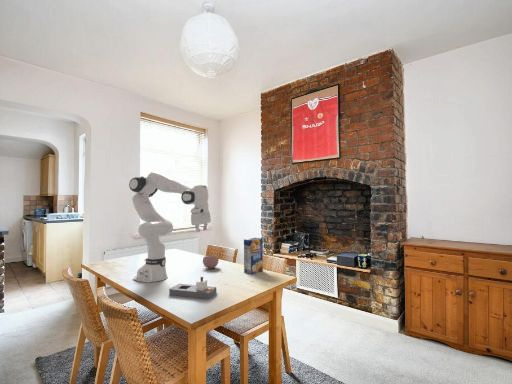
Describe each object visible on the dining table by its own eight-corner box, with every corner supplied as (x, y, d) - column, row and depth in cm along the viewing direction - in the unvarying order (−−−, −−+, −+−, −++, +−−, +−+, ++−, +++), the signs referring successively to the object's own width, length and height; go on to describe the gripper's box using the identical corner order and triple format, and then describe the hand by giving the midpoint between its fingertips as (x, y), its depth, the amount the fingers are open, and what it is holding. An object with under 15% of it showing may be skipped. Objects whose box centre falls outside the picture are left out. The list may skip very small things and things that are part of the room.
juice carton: (255, 269, 208) (255, 237, 209) (262, 271, 203) (262, 238, 203) (244, 272, 200) (243, 239, 200) (251, 274, 194) (250, 240, 195)
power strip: (169, 296, 153) (169, 288, 153) (179, 290, 162) (179, 282, 162) (208, 300, 146) (208, 291, 146) (216, 294, 156) (216, 286, 156)
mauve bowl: (219, 266, 218) (219, 251, 218) (217, 270, 206) (217, 255, 206) (204, 266, 219) (204, 251, 219) (201, 270, 207) (201, 255, 207)
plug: (196, 296, 151) (196, 278, 151) (200, 293, 155) (200, 275, 156) (203, 297, 150) (203, 278, 150) (207, 294, 154) (207, 276, 154)
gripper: (204, 208, 189) (204, 229, 188) (189, 210, 169) (189, 232, 169) (212, 208, 187) (212, 229, 187) (198, 210, 167) (198, 233, 167)
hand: (201, 231), depth 178 cm, fingers open, 8 cm apart
